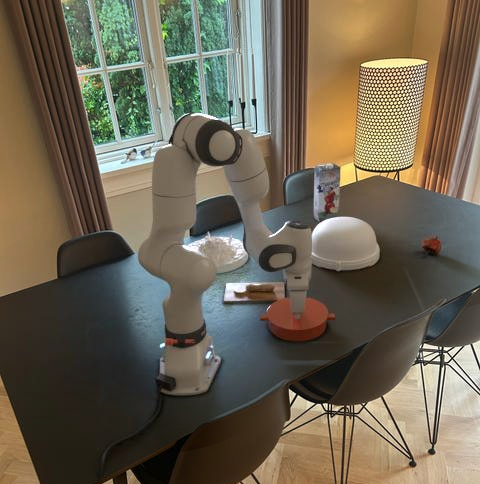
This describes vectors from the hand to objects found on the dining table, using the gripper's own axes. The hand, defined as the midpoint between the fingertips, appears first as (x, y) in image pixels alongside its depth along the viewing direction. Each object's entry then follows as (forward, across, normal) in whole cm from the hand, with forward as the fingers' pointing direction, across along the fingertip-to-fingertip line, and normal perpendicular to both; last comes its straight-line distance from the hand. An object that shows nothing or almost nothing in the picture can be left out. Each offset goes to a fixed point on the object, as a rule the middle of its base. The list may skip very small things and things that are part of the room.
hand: (297, 309), depth 162 cm
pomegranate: (+6, -50, +55) cm, 75 cm away
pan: (+6, 0, 0) cm, 6 cm away
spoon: (+5, -21, -14) cm, 26 cm away
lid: (+2, 0, 0) cm, 2 cm away
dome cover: (+6, -52, +20) cm, 56 cm away
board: (+6, -21, -15) cm, 27 cm away
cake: (+6, -51, -33) cm, 61 cm away
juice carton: (+6, -89, +16) cm, 91 cm away
